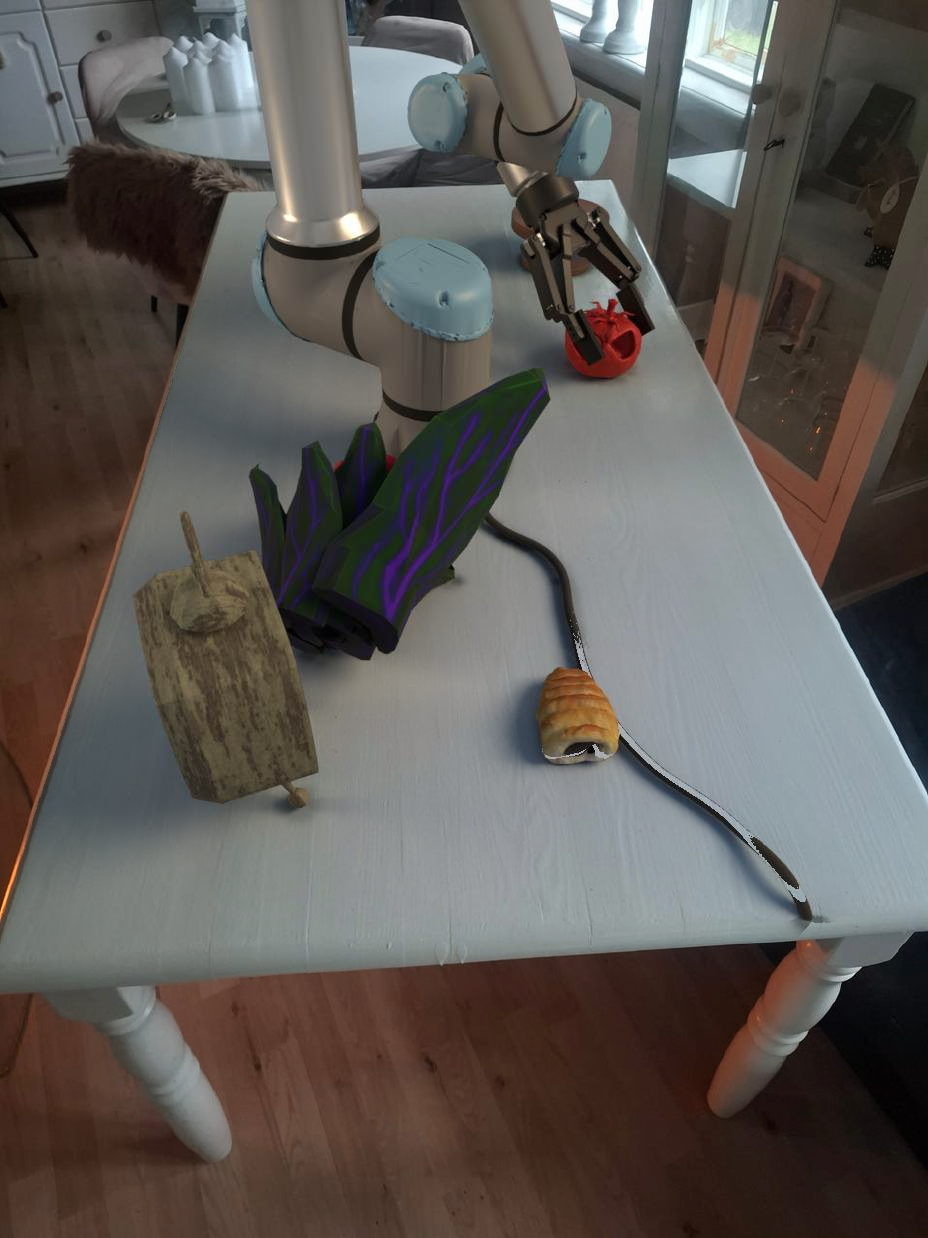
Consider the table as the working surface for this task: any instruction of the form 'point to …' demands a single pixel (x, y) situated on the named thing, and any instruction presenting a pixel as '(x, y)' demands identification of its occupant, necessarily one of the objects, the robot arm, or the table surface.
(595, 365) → the angry red tomato
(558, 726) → the pastry
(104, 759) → the table surface
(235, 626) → the brown boxy piece
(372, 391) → the table surface
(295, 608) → the decorative plant
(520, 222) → the stand
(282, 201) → the robot arm
